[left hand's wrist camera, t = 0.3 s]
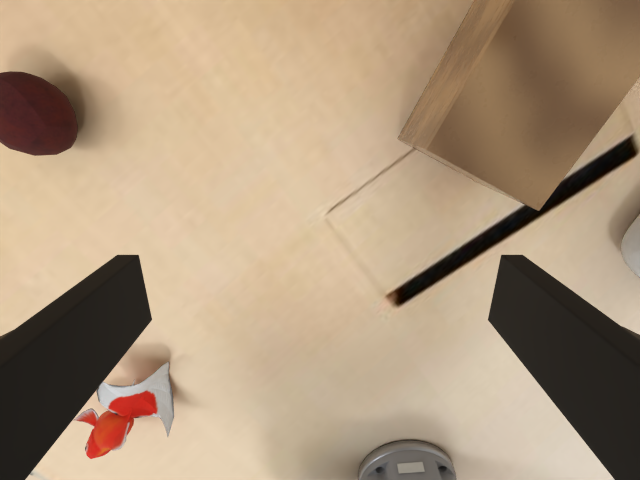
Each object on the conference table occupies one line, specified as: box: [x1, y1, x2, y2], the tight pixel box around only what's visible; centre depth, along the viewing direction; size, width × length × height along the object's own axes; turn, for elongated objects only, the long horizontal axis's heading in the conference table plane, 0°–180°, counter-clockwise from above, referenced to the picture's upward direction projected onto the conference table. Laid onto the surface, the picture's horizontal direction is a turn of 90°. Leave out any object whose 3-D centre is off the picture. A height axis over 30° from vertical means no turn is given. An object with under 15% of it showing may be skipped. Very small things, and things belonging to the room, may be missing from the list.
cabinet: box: [398, 0, 640, 211], centre depth 30 cm, size 17×11×11 cm, turn 154°
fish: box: [74, 362, 174, 459], centre depth 46 cm, size 11×16×10 cm
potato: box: [0, 72, 78, 156], centre depth 33 cm, size 7×8×7 cm
